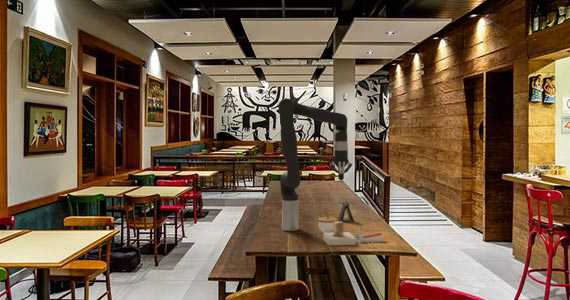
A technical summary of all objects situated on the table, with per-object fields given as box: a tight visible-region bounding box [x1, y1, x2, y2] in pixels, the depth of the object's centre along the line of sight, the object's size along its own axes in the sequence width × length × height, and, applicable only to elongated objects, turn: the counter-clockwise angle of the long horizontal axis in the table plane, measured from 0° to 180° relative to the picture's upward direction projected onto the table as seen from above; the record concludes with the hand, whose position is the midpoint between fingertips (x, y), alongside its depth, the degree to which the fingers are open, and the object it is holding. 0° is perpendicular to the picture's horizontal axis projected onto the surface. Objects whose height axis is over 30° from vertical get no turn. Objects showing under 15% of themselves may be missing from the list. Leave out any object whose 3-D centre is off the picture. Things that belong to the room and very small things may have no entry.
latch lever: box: [358, 231, 382, 238], centre depth 224 cm, size 12×3×2 cm, turn 95°
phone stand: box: [337, 200, 355, 223], centre depth 274 cm, size 9×6×12 cm, turn 95°
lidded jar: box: [317, 215, 338, 234], centre depth 243 cm, size 11×11×9 cm
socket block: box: [322, 231, 357, 246], centre depth 223 cm, size 14×14×3 cm
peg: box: [333, 220, 344, 237], centre depth 223 cm, size 4×4×10 cm
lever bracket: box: [354, 232, 385, 244], centre depth 224 cm, size 14×7×3 cm, turn 95°
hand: (341, 180), depth 244 cm, fingers closed
